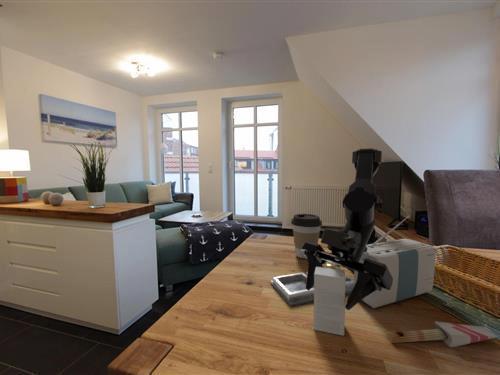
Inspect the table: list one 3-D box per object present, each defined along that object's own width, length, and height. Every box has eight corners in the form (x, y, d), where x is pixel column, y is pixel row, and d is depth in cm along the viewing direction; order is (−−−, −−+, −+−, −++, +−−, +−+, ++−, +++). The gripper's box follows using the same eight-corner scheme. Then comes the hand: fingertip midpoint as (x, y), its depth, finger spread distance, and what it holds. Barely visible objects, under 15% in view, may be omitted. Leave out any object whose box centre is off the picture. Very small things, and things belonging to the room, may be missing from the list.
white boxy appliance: (375, 313, 55) (379, 228, 53) (348, 295, 62) (351, 220, 60) (434, 295, 62) (440, 220, 60) (404, 281, 70) (408, 213, 68)
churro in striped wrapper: (502, 331, 44) (395, 337, 44) (501, 345, 45) (395, 351, 44) (482, 318, 48) (383, 323, 48) (481, 330, 48) (383, 336, 48)
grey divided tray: (331, 272, 76) (332, 254, 75) (360, 291, 64) (361, 270, 64) (270, 283, 69) (270, 263, 68) (290, 306, 57) (291, 283, 57)
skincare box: (343, 323, 51) (345, 269, 50) (344, 337, 47) (346, 278, 46) (314, 317, 53) (315, 265, 52) (312, 330, 49) (314, 274, 48)
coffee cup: (298, 248, 98) (298, 212, 96) (325, 254, 91) (326, 215, 90) (284, 257, 88) (285, 217, 87) (314, 264, 82) (315, 221, 80)
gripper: (306, 208, 58) (273, 264, 52) (390, 222, 43) (357, 302, 37) (324, 234, 63) (296, 287, 58) (403, 254, 49) (377, 328, 43)
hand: (325, 298), depth 49 cm, fingers open, 9 cm apart
